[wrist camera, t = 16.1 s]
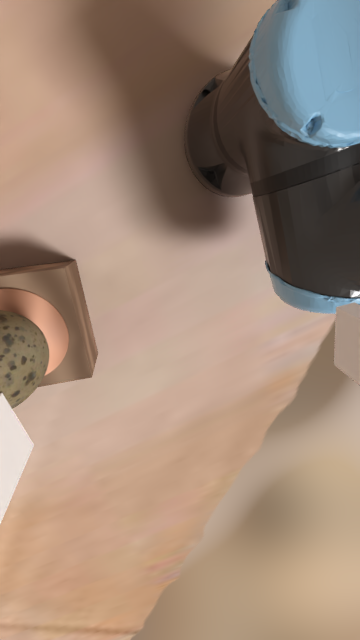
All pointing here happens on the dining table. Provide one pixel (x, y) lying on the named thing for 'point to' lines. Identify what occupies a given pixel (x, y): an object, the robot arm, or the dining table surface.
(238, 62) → the robot arm
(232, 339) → the dining table surface
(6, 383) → the decorative egg
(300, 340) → the dining table surface
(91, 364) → the pedestal
